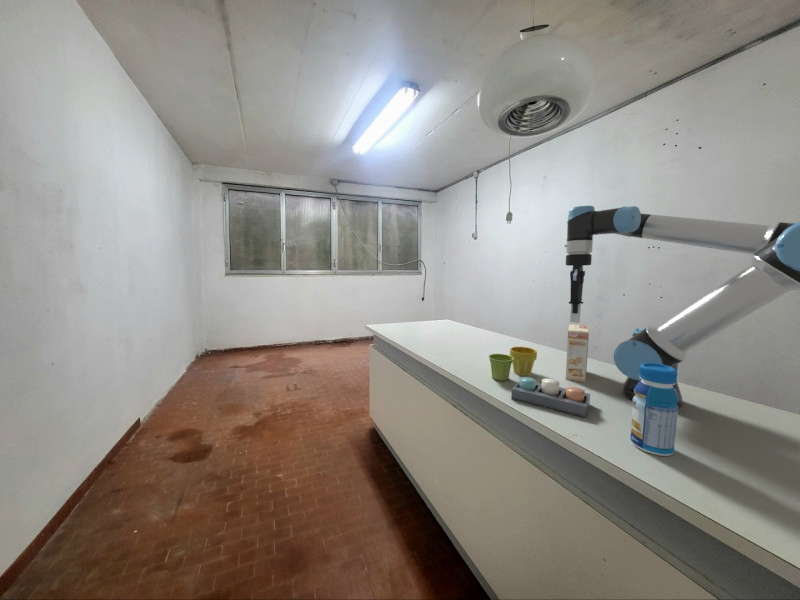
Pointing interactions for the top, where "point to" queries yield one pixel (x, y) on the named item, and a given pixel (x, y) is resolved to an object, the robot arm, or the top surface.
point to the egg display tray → (551, 400)
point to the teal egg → (527, 383)
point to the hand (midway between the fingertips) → (574, 322)
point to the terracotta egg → (575, 394)
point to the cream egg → (550, 387)
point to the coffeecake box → (577, 352)
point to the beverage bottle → (655, 409)
